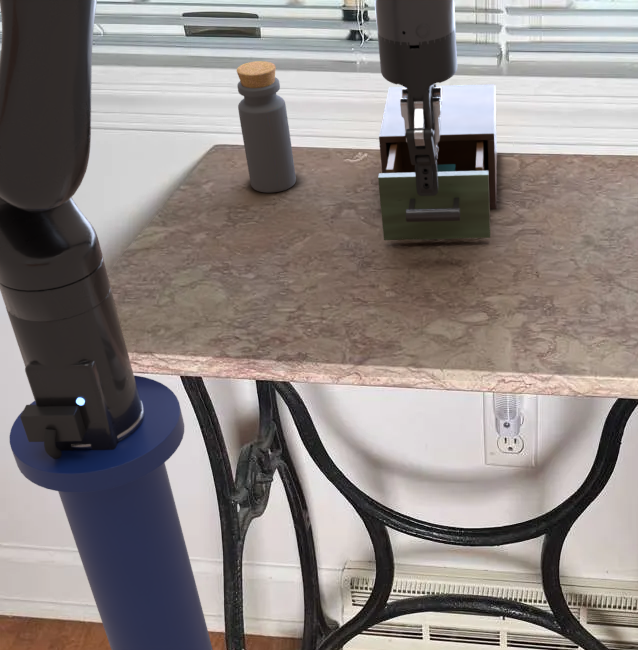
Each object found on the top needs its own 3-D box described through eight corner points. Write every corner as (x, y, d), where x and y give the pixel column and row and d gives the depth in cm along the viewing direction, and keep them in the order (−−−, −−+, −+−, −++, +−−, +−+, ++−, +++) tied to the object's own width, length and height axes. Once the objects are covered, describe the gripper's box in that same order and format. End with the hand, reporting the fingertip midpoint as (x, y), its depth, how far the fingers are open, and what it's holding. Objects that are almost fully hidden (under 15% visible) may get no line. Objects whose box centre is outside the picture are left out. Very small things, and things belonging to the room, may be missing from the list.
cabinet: (496, 208, 145) (494, 133, 139) (385, 211, 146) (378, 136, 139) (496, 155, 157) (495, 83, 151) (394, 157, 158) (388, 86, 152)
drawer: (489, 255, 134) (487, 191, 129) (380, 258, 134) (374, 194, 130) (491, 183, 149) (489, 123, 144) (393, 185, 149) (387, 125, 144)
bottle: (282, 169, 156) (265, 55, 147) (304, 184, 152) (288, 68, 143) (242, 182, 154) (223, 67, 144) (264, 197, 150) (245, 80, 140)
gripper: (382, 4, 119) (396, 166, 130) (371, 51, 108) (387, 223, 119) (457, 1, 118) (465, 164, 129) (452, 48, 108) (461, 221, 119)
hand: (427, 192), depth 124 cm, fingers closed
